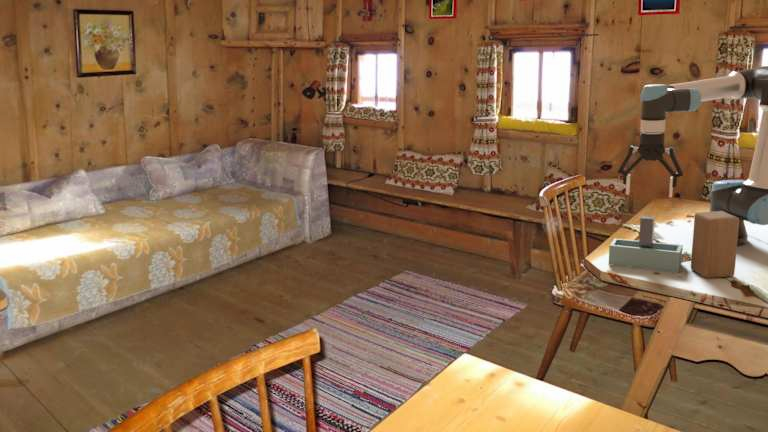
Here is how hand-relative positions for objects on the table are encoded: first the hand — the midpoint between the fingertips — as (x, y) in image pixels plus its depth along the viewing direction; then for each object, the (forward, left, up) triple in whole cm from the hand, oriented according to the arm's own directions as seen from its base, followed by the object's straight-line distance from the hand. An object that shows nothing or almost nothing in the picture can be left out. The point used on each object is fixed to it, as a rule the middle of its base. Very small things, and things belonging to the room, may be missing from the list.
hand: (648, 195), depth 222 cm
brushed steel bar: (0, 0, -24) cm, 24 cm away
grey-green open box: (0, 0, -25) cm, 25 cm away
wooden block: (-21, +1, -25) cm, 33 cm away
